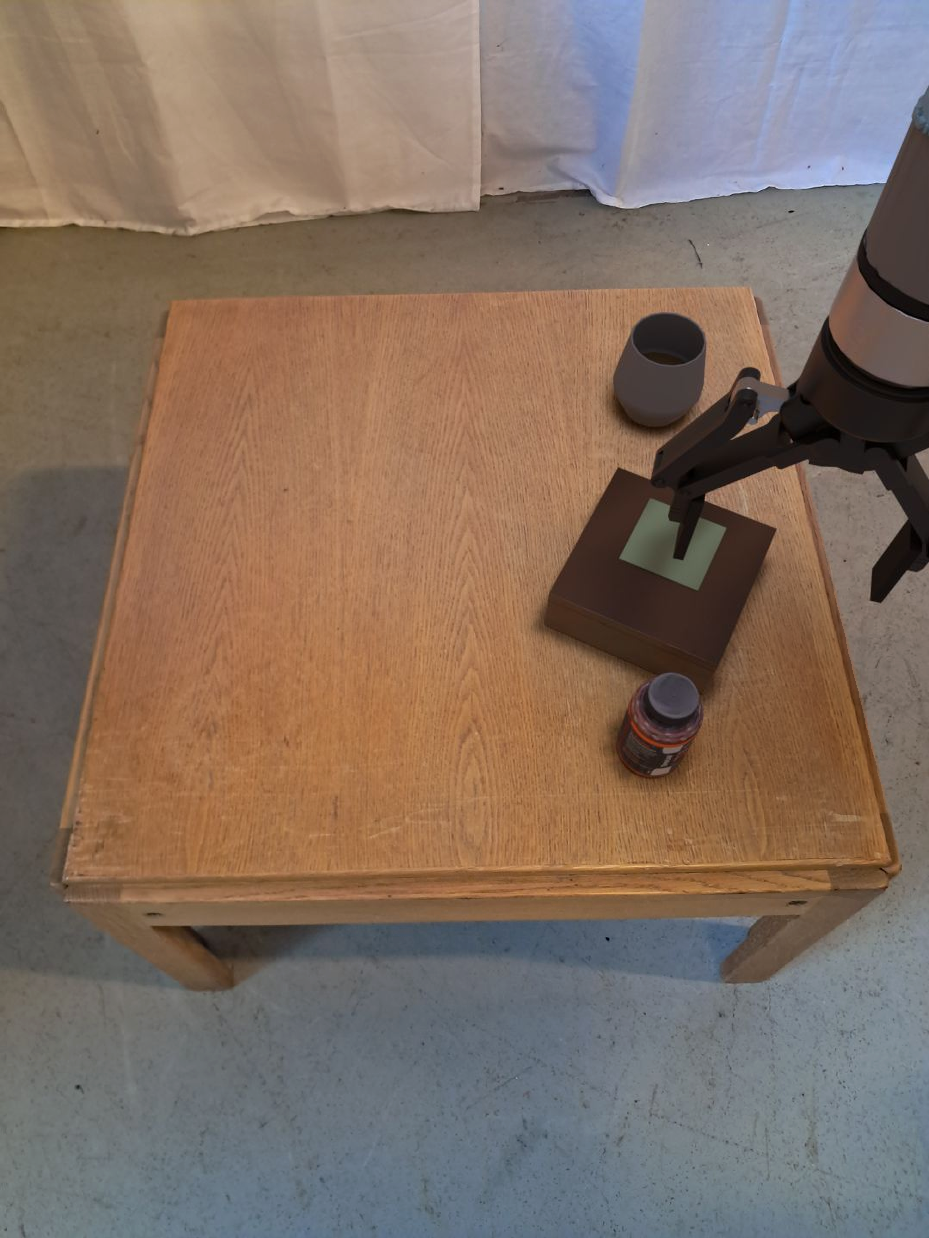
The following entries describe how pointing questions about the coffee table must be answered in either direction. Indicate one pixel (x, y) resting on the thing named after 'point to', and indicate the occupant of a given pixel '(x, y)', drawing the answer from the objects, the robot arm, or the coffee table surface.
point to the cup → (661, 369)
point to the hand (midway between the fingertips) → (777, 564)
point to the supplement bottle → (660, 725)
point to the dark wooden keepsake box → (657, 581)
